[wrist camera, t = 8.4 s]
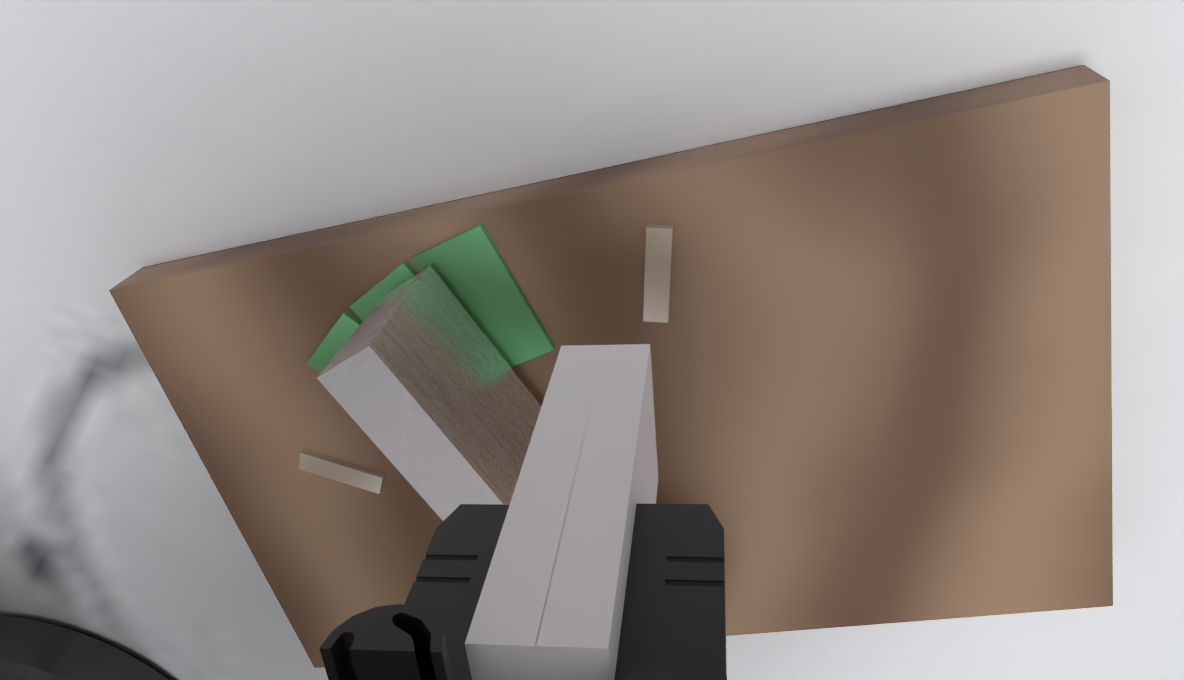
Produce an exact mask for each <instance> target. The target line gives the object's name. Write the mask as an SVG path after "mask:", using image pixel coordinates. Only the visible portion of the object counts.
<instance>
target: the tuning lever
mask: <svg viewBox="0 0 1184 680" xmlns="http://www.w3.org/2000/svg"><path fill="white" fill-rule="evenodd" d="M317 379H318V380H319V381H320V382H321V383H322V385H323V386H324V387H325V388H326V389H327V390H328V391H329V393H330V394H331V395H332V396H333V397H334V398H335V399H336V400H337V402H338V403H339V404H340V405H341V406H342V407H343V408H344V410H345V411H346V412H347V413H348V414H349V415H350V416H351V417H352V419H353V420H354V421H355V422H356V423H357V424H358V425H359V426H360V428H361V429H362V430H363V431H364V432H365V433H366V434H367V436H368V437H369V438H370V439H371V440H372V441H373V442H374V443H375V445H376V446H377V447H378V448H379V449H380V450H381V451H382V453H383V454H384V455H385V456H386V457H387V458H388V459H389V460H390V462H391V463H392V464H393V465H394V466H395V467H396V468H397V470H398V471H399V472H400V473H401V474H402V475H403V476H404V477H405V479H406V480H407V481H408V482H409V483H410V484H411V485H412V486H413V488H414V489H415V490H416V491H417V492H418V493H419V494H420V496H421V497H422V498H423V499H424V500H425V501H426V502H427V503H428V505H429V506H430V507H431V508H432V509H433V510H434V511H435V513H436V514H437V515H438V516H439V517H440V518H441V519H442V520H443V521H444V520H445V519H446V518H447V517H448V516H449V515H450V514H451V513H452V512H453V511H454V510H455V509H456V508H457V507H458V506H459V505H460V504H497V505H510V502H511V499H512V496H513V493H514V490H515V487H516V484H517V481H518V477H519V474H520V471H521V468H522V465H523V462H524V459H525V456H526V453H527V450H528V447H529V444H530V440H531V437H532V434H533V431H534V428H535V425H536V422H537V419H538V416H539V413H540V410H541V405H540V404H539V403H538V402H537V400H536V399H535V398H534V396H533V395H532V394H531V393H530V391H529V390H528V389H527V388H526V386H525V385H524V384H523V382H522V381H521V380H520V379H519V377H518V376H517V375H516V374H515V372H514V371H513V370H512V368H511V367H510V366H509V365H508V363H507V362H506V361H505V360H504V358H503V357H502V356H501V355H500V353H499V352H498V351H497V349H496V348H495V347H494V346H493V344H492V343H491V342H490V341H489V339H488V338H487V337H486V335H485V334H484V333H483V332H482V330H481V329H480V328H479V327H478V325H477V324H476V323H475V321H474V320H473V319H472V318H471V316H470V315H469V314H468V313H467V311H466V310H465V309H464V307H463V306H462V305H461V304H460V302H459V301H458V300H457V299H456V297H455V296H454V295H453V294H452V292H451V291H450V290H449V288H448V287H447V286H446V285H445V283H444V282H443V281H442V280H441V278H440V277H439V276H438V274H437V273H436V272H435V271H434V269H433V268H432V267H431V266H429V267H427V268H426V269H424V270H423V271H421V272H419V273H418V274H416V275H415V276H413V277H412V278H410V279H408V280H407V281H405V282H404V283H402V284H401V285H399V286H397V287H396V288H394V289H393V290H391V291H390V292H388V293H386V294H385V295H384V296H383V297H382V299H381V300H380V301H379V302H378V303H377V305H376V306H375V307H374V308H373V310H372V311H371V312H370V313H369V314H368V316H367V317H366V318H365V319H364V321H363V322H362V323H361V324H360V325H359V327H358V328H357V329H356V330H355V332H354V333H353V334H352V335H351V336H350V338H349V339H348V340H347V341H346V343H345V344H344V345H343V346H342V347H341V349H340V350H339V351H338V352H337V354H336V355H335V356H334V357H333V359H332V360H331V361H330V362H329V363H328V365H327V366H326V367H325V368H324V370H323V371H322V372H321V373H320V374H319V376H318V377H317Z"/></svg>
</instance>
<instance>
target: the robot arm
mask: <svg viewBox="0 0 1184 680" xmlns="http://www.w3.org/2000/svg"><path fill="white" fill-rule="evenodd" d="M657 487H658V465H657V448H656V432H655V415H654V398H653V382H652V365H651V349H650V344H626V345H566V346H561V348H560V351H559V354H558V357H557V360H556V363H555V366H554V370H553V373H552V376H551V379H550V382H549V385H548V388H547V391H546V394H545V397H544V400H543V403H542V407H541V410H540V413H539V416H538V419H537V422H536V425H535V428H534V431H533V434H532V437H531V440H530V444H529V447H528V450H527V453H526V456H525V459H524V462H523V465H522V468H521V471H520V474H519V477H518V481H517V484H516V487H515V490H514V493H513V496H512V499H511V502H510V505H497V504H460V505H459V506H458V507H457V508H456V509H455V510H454V511H453V512H452V513H451V514H450V515H449V516H448V517H447V518H446V519H445V520H444V521H443V522H442V523H441V524H440V525H439V526H438V527H437V528H436V531H435V533H434V535H433V538H432V540H431V542H430V545H429V547H428V550H427V552H426V558H425V560H423V561H422V564H421V566H420V568H419V571H418V573H417V576H416V582H414V583H413V585H412V587H411V590H410V592H409V594H408V597H407V599H406V601H405V604H404V605H403V604H394V605H386V606H377V607H374V608H371V609H369V610H366V611H364V612H361V613H359V614H356V615H353V616H352V617H350V618H349V619H348V620H346V621H345V622H343V623H342V624H341V625H339V626H338V627H337V628H335V629H334V630H333V631H332V632H331V633H330V635H329V636H328V637H327V639H326V640H325V641H324V643H323V644H322V645H321V647H320V648H319V649H320V653H321V656H322V659H323V662H324V666H325V669H326V672H327V676H328V679H329V680H727V676H726V604H725V553H724V528H723V527H722V525H721V523H720V522H719V520H718V519H717V517H716V515H715V514H714V512H713V511H712V509H711V507H710V506H709V504H656V498H657ZM0 680H168V679H167V678H166V677H164V676H163V675H161V674H160V673H158V672H157V671H155V670H154V669H152V668H151V667H149V666H148V665H146V664H144V663H143V662H141V661H139V660H138V659H136V658H134V657H132V656H130V655H128V654H127V653H125V652H123V651H121V650H119V649H117V648H115V647H113V646H111V645H108V644H106V643H104V642H102V641H99V640H97V639H95V638H92V637H89V636H87V635H84V634H82V633H79V632H76V631H73V630H70V629H67V628H63V627H60V626H56V625H53V624H49V623H44V622H40V621H35V620H30V619H24V618H16V617H7V616H0Z"/></svg>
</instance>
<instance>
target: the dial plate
mask: <svg viewBox="0 0 1184 680" xmlns="http://www.w3.org/2000/svg"><path fill="white" fill-rule="evenodd" d="M429 266H431V267H432V268H433V269H434V271H435V272H436V273H437V274H438V276H439V277H440V278H441V280H442V281H443V282H444V283H445V285H446V286H447V287H448V288H449V290H450V291H451V292H452V294H453V295H454V296H455V297H456V299H457V300H458V301H459V302H460V304H461V305H462V306H463V307H464V309H465V310H466V311H467V313H468V314H469V315H470V316H471V318H472V319H473V320H474V321H475V323H476V324H477V325H478V327H479V328H480V329H481V330H482V332H483V333H484V334H485V335H486V337H487V338H488V339H489V341H490V342H491V343H492V344H493V346H494V347H495V348H496V349H497V351H498V352H499V353H500V355H501V356H502V357H503V358H504V360H505V361H506V362H507V363H508V365H509V366H510V367H511V368H512V370H513V371H514V372H515V374H516V375H517V376H518V377H519V379H520V380H521V381H522V382H523V384H524V385H525V386H526V388H527V389H528V390H529V391H530V393H531V394H532V395H533V396H534V398H535V399H536V400H537V402H538V403H539V404H540V405H541V407H542V403H543V400H544V397H545V394H546V391H547V388H548V385H549V382H550V379H551V376H552V373H553V370H554V366H555V363H556V360H557V357H558V354H559V351H560V348H561V346H566V345H626V344H650V349H651V365H652V382H653V398H654V415H655V432H656V448H657V465H658V487H657V498H656V504H709V506H710V507H711V509H712V511H713V512H714V514H715V515H716V517H717V519H718V520H719V522H720V523H721V525H722V527H723V528H724V553H725V604H726V636H729V635H742V634H754V633H767V632H780V631H793V630H806V629H819V628H832V627H845V626H858V625H871V624H884V623H897V622H909V621H922V620H935V619H948V618H961V617H974V616H987V615H1000V614H1013V613H1026V612H1039V611H1052V610H1064V609H1077V608H1090V607H1103V606H1113V576H1112V408H1111V241H1110V81H1109V80H1108V79H1106V78H1104V77H1103V76H1101V75H1099V74H1098V73H1096V72H1094V71H1093V70H1091V69H1090V68H1088V67H1086V66H1085V65H1083V66H1078V67H1073V68H1069V69H1064V70H1059V71H1055V72H1050V73H1046V74H1041V75H1036V76H1032V77H1027V78H1022V79H1018V80H1013V81H1008V82H1004V83H999V84H994V85H990V86H985V87H980V88H976V89H971V90H966V91H962V92H957V93H953V94H948V95H943V96H939V97H934V98H929V99H925V100H920V101H915V102H911V103H906V104H901V105H897V106H892V107H887V108H883V109H878V110H873V111H869V112H864V113H859V114H855V115H850V116H846V117H841V118H836V119H832V120H827V121H822V122H818V123H813V124H808V125H804V126H799V127H794V128H790V129H785V130H780V131H776V132H771V133H766V134H762V135H757V136H753V137H748V138H743V139H739V140H734V141H729V142H725V143H720V144H715V145H711V146H706V147H701V148H697V149H692V150H687V151H683V152H678V153H673V154H669V155H664V156H660V157H655V158H650V159H646V160H641V161H636V162H632V163H627V164H622V165H618V166H613V167H608V168H604V169H599V170H594V171H590V172H585V173H580V174H576V175H571V176H567V177H562V178H557V179H553V180H548V181H543V182H539V183H534V184H529V185H525V186H520V187H515V188H511V189H506V190H501V191H497V192H492V193H487V194H483V195H478V196H473V197H469V198H464V199H460V200H455V201H450V202H446V203H441V204H436V205H432V206H427V207H422V208H418V209H413V210H408V211H404V212H399V213H394V214H390V215H385V216H380V217H376V218H371V219H367V220H362V221H357V222H353V223H348V224H343V225H339V226H334V227H329V228H325V229H320V230H315V231H311V232H306V233H301V234H297V235H292V236H287V237H283V238H278V239H274V240H269V241H264V242H260V243H255V244H250V245H246V246H241V247H236V248H232V249H227V250H222V251H218V252H213V253H208V254H204V255H199V256H194V257H190V258H185V259H180V260H176V261H171V262H167V263H162V264H157V265H153V266H148V267H143V268H141V269H140V270H138V271H137V272H135V273H134V274H133V275H131V276H130V277H128V278H127V279H125V280H124V281H122V282H121V283H119V284H118V285H116V286H115V287H114V288H112V289H111V290H109V291H110V293H111V295H112V296H113V298H114V300H115V302H116V304H117V306H118V307H119V309H120V311H121V313H122V315H123V317H124V318H125V320H126V322H127V324H128V326H129V328H130V329H131V331H132V333H133V335H134V337H135V339H136V340H137V342H138V344H139V346H140V348H141V350H142V351H143V353H144V355H145V357H146V359H147V361H148V362H149V364H150V366H151V368H152V370H153V372H154V373H155V375H156V377H157V379H158V381H159V383H160V384H161V386H162V388H163V390H164V392H165V394H166V396H167V397H168V399H169V401H170V403H171V405H172V407H173V408H174V410H175V412H176V414H177V416H178V418H179V419H180V421H181V423H182V425H183V427H184V429H185V430H186V432H187V434H188V436H189V438H190V440H191V441H192V443H193V445H194V447H195V449H196V451H197V452H198V454H199V456H200V458H201V460H202V462H203V463H204V465H205V467H206V469H207V471H208V473H209V474H210V476H211V478H212V480H213V482H214V484H215V485H216V487H217V489H218V491H219V493H220V495H221V496H222V498H223V500H224V502H225V504H226V506H227V507H228V509H229V511H230V513H231V515H232V517H233V518H234V520H235V522H236V524H237V526H238V528H239V529H240V531H241V533H242V535H243V537H244V539H245V540H246V542H247V544H248V546H249V548H250V550H251V551H252V553H253V555H254V557H255V559H256V561H257V562H258V564H259V566H260V568H261V570H262V572H263V573H264V575H265V577H266V579H267V581H268V583H269V584H270V586H271V588H272V590H273V592H274V594H275V595H276V597H277V599H278V601H279V603H280V605H281V606H282V608H283V610H284V612H285V614H286V616H287V617H288V619H289V621H290V623H291V625H292V627H293V628H294V630H295V632H296V634H297V636H298V638H299V639H300V641H301V643H302V645H303V647H304V649H305V650H306V652H307V654H308V656H309V658H310V660H311V662H312V663H313V665H314V667H325V666H324V662H323V659H322V656H321V653H320V649H319V648H320V647H321V645H322V644H323V643H324V641H325V640H326V639H327V637H328V636H329V635H330V633H331V632H332V631H333V630H334V629H335V628H337V627H338V626H339V625H341V624H342V623H343V622H345V621H346V620H348V619H349V618H350V617H352V616H353V615H356V614H359V613H361V612H364V611H366V610H369V609H371V608H374V607H377V606H386V605H394V604H403V605H404V604H405V601H406V599H407V597H408V594H409V592H410V590H411V587H412V585H413V583H414V582H416V576H417V573H418V571H419V568H420V566H421V564H422V561H423V560H425V558H426V552H427V550H428V547H429V545H430V542H431V540H432V538H433V535H434V533H435V531H436V528H437V527H438V526H439V525H440V524H441V523H442V522H443V520H442V519H441V518H440V517H439V516H438V515H437V514H436V513H435V511H434V510H433V509H432V508H431V507H430V506H429V505H428V503H427V502H426V501H425V500H424V499H423V498H422V497H421V496H420V494H419V493H418V492H417V491H416V490H415V489H414V488H413V486H412V485H411V484H410V483H409V482H408V481H407V480H406V479H405V477H404V476H403V475H402V474H401V473H400V472H399V471H398V470H397V468H396V467H395V466H394V465H393V464H392V463H391V462H390V460H389V459H388V458H387V457H386V456H385V455H384V454H383V453H382V451H381V450H380V449H379V448H378V447H377V446H376V445H375V443H374V442H373V441H372V440H371V439H370V438H369V437H368V436H367V434H366V433H365V432H364V431H363V430H362V429H361V428H360V426H359V425H358V424H357V423H356V422H355V421H354V420H353V419H352V417H351V416H350V415H349V414H348V413H347V412H346V411H345V410H344V408H343V407H342V406H341V405H340V404H339V403H338V402H337V400H336V399H335V398H334V397H333V396H332V395H331V394H330V393H329V391H328V390H327V389H326V388H325V387H324V386H323V385H322V383H321V382H320V381H319V380H318V379H317V377H318V376H319V374H320V373H321V372H322V371H323V370H324V368H325V367H326V366H327V365H328V363H329V362H330V361H331V360H332V359H333V357H334V356H335V355H336V354H337V352H338V351H339V350H340V349H341V347H342V346H343V345H344V344H345V343H346V341H347V340H348V339H349V338H350V336H351V335H352V334H353V333H354V332H355V330H356V329H357V328H358V327H359V325H360V324H361V323H362V322H363V321H364V319H365V318H366V317H367V316H368V314H369V313H370V312H371V311H372V310H373V308H374V307H375V306H376V305H377V303H378V302H379V301H380V300H381V299H382V297H383V296H384V295H385V294H386V293H388V292H390V291H391V290H393V289H394V288H396V287H397V286H399V285H401V284H402V283H404V282H405V281H407V280H408V279H410V278H412V277H413V276H415V275H416V274H418V273H419V272H421V271H423V270H424V269H426V268H427V267H429Z"/></svg>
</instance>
